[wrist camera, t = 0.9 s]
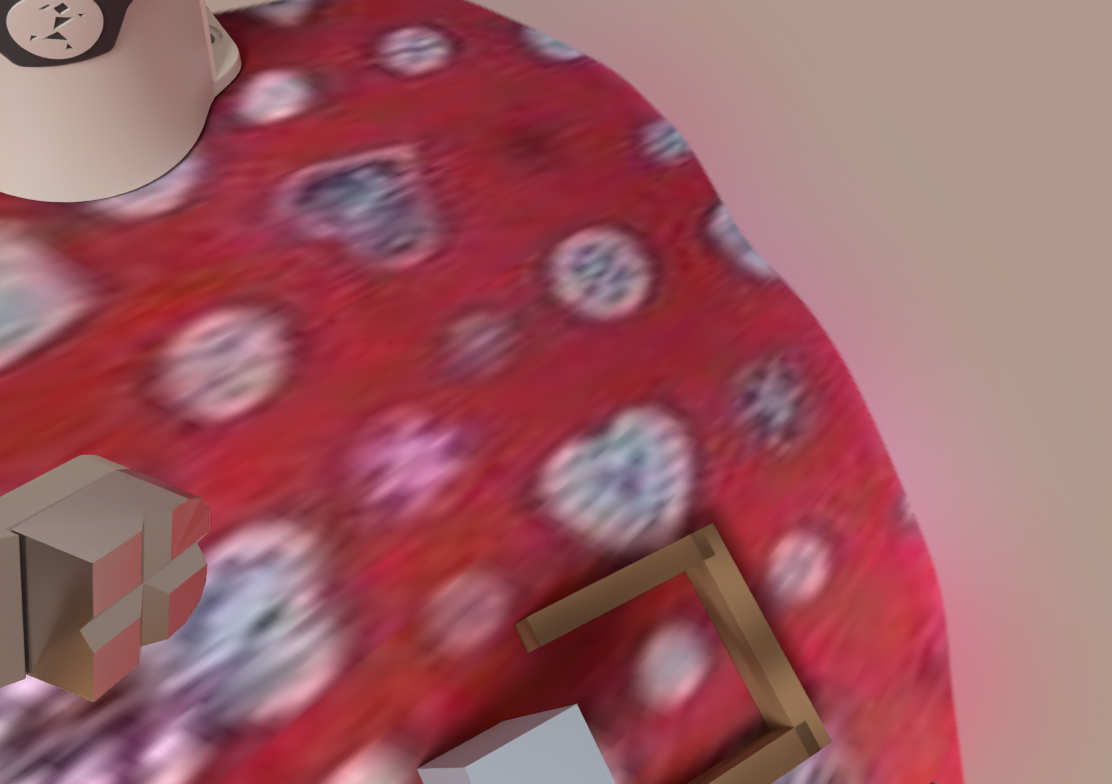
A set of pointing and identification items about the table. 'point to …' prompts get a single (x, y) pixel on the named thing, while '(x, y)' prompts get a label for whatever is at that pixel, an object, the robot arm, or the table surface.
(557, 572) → the table surface
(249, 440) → the table surface
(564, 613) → the wooden u-shaped frame
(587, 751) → the grey block
